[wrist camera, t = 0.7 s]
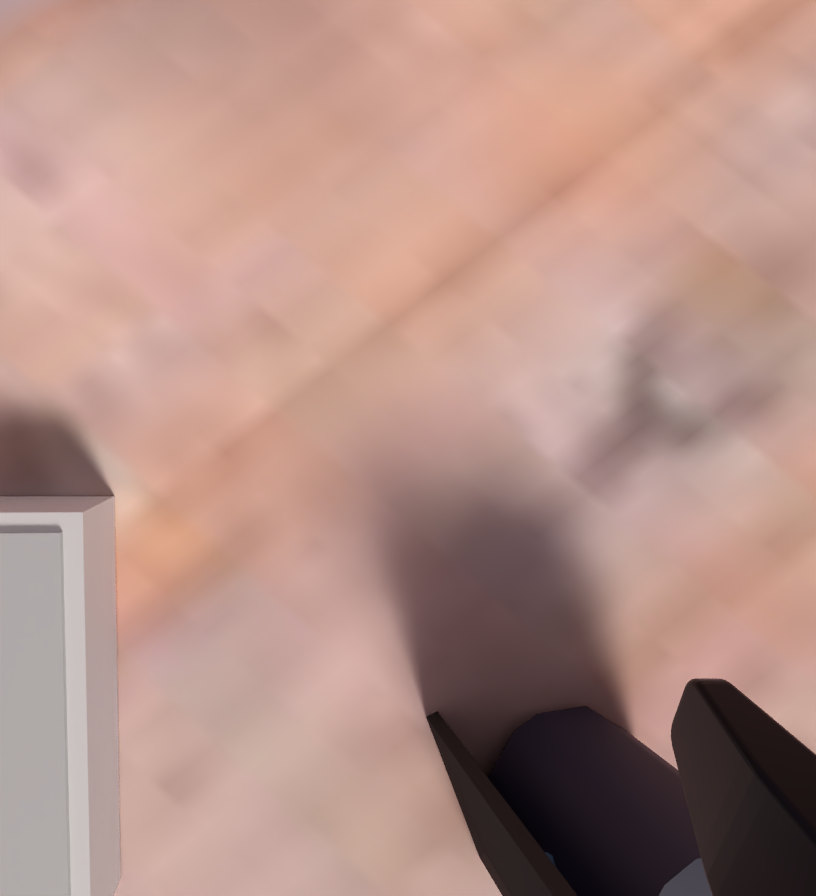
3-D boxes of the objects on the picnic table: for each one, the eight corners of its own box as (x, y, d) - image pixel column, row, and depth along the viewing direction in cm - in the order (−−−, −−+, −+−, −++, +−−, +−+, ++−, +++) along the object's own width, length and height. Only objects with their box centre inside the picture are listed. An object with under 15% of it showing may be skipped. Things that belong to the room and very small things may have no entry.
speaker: (426, 886, 23) (562, 1244, 13) (425, 711, 23) (563, 936, 13) (637, 854, 25) (904, 1151, 15) (638, 691, 25) (909, 876, 14)
